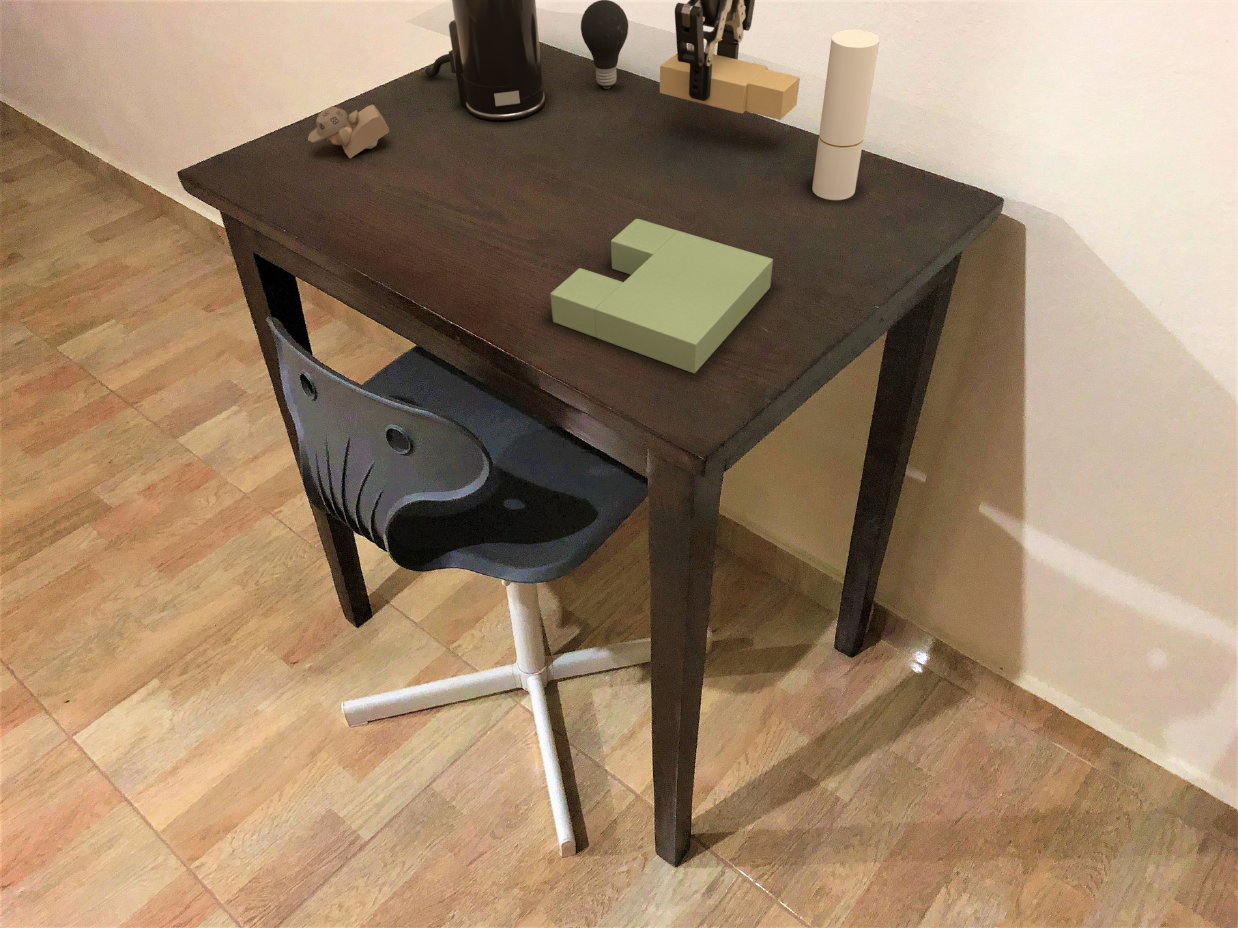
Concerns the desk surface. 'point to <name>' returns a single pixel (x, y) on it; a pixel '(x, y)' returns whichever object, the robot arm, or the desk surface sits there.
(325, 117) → the toy character
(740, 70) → the loose pad
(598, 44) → the light bulb
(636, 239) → the base pad
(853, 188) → the tube
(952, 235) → the desk surface
